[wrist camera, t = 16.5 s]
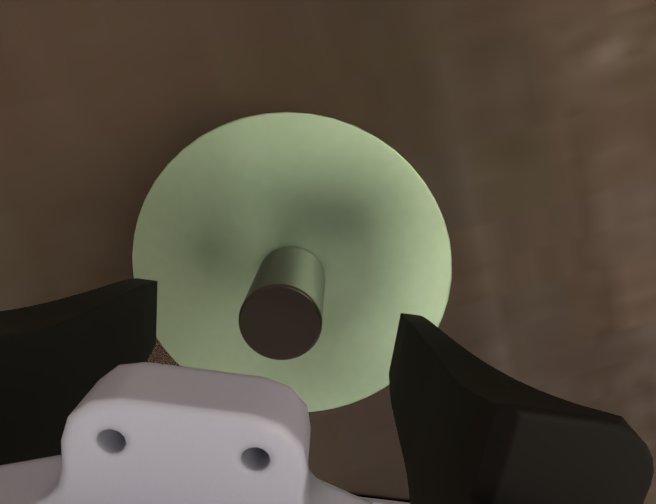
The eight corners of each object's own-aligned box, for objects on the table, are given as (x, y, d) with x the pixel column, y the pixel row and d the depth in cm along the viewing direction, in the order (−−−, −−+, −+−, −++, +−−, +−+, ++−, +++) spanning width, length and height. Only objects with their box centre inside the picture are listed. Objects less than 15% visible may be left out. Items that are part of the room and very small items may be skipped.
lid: (476, 134, 16) (530, 148, 12) (414, 412, 20) (436, 503, 15) (145, 88, 16) (70, 84, 11) (142, 378, 19) (84, 461, 15)
